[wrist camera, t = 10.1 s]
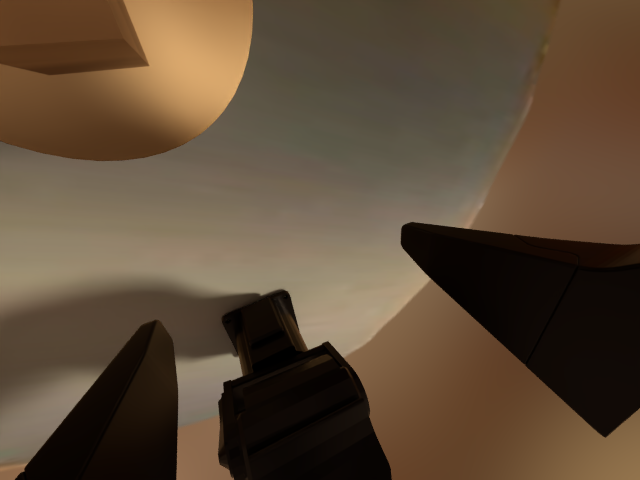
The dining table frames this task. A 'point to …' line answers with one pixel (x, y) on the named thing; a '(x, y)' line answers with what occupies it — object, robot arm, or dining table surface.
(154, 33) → the lid
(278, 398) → the robot arm
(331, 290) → the dining table surface
